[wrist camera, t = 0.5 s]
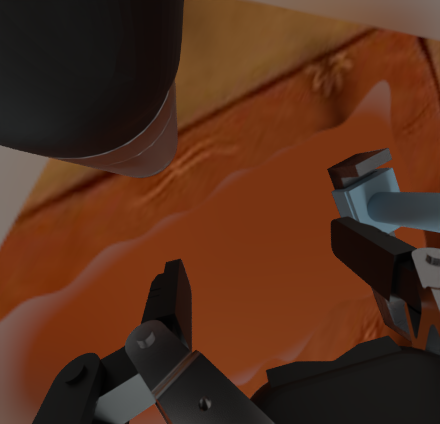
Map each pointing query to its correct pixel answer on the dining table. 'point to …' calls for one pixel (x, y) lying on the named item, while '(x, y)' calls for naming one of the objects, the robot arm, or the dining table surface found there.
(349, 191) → the carriage
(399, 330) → the rail
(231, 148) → the dining table surface
